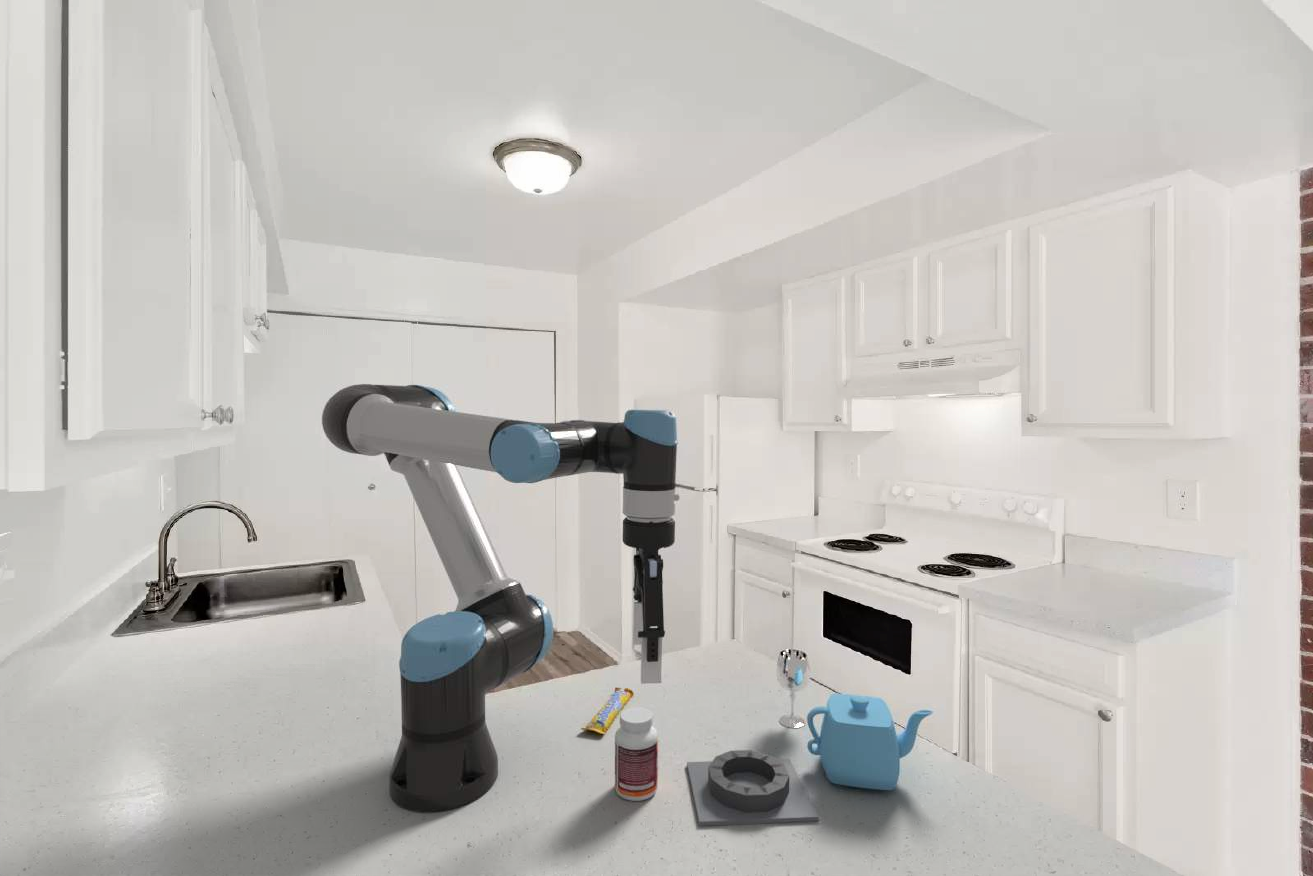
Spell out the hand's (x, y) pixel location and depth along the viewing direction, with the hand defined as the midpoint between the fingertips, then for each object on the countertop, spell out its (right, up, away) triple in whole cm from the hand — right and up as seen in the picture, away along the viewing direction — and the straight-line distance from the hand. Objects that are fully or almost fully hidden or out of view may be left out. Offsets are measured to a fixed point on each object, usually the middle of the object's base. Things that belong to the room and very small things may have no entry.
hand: (646, 661), depth 93 cm
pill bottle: (-1, -18, -1) cm, 18 cm away
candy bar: (-7, -18, +22) cm, 29 cm away
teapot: (+33, -18, +3) cm, 38 cm away
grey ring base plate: (+15, -18, -1) cm, 23 cm away
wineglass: (+25, -17, +19) cm, 36 cm away
